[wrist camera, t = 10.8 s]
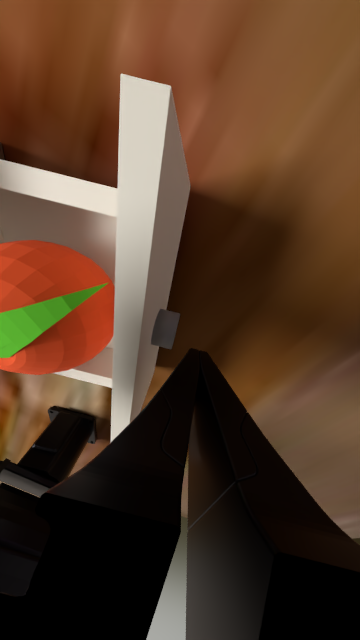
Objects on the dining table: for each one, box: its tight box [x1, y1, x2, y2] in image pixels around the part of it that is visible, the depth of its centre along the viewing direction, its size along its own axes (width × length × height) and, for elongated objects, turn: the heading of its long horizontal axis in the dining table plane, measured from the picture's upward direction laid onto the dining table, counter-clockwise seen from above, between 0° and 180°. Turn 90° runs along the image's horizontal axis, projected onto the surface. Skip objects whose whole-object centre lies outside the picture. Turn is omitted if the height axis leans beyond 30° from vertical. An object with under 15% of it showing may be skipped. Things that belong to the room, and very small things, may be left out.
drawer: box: [0, 74, 191, 442], centre depth 10 cm, size 15×14×7 cm
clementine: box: [0, 240, 115, 375], centre depth 9 cm, size 8×7×7 cm
